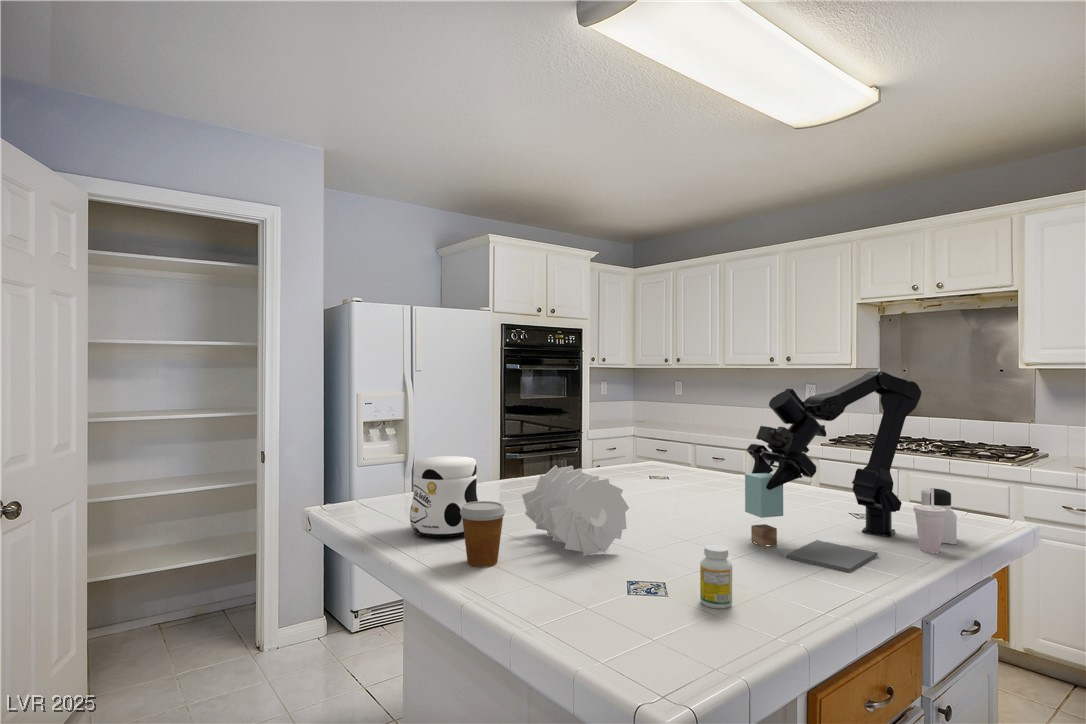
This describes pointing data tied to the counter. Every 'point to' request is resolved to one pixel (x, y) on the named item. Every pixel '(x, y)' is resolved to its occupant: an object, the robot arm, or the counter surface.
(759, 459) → the robot arm
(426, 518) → the milk container
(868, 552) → the mat
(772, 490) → the pale teal box
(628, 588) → the counter surface
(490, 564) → the disposable coffee cup
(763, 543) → the block
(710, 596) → the supplement bottle
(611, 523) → the spiral staircase
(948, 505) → the medicine bottle
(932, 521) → the smoothie
